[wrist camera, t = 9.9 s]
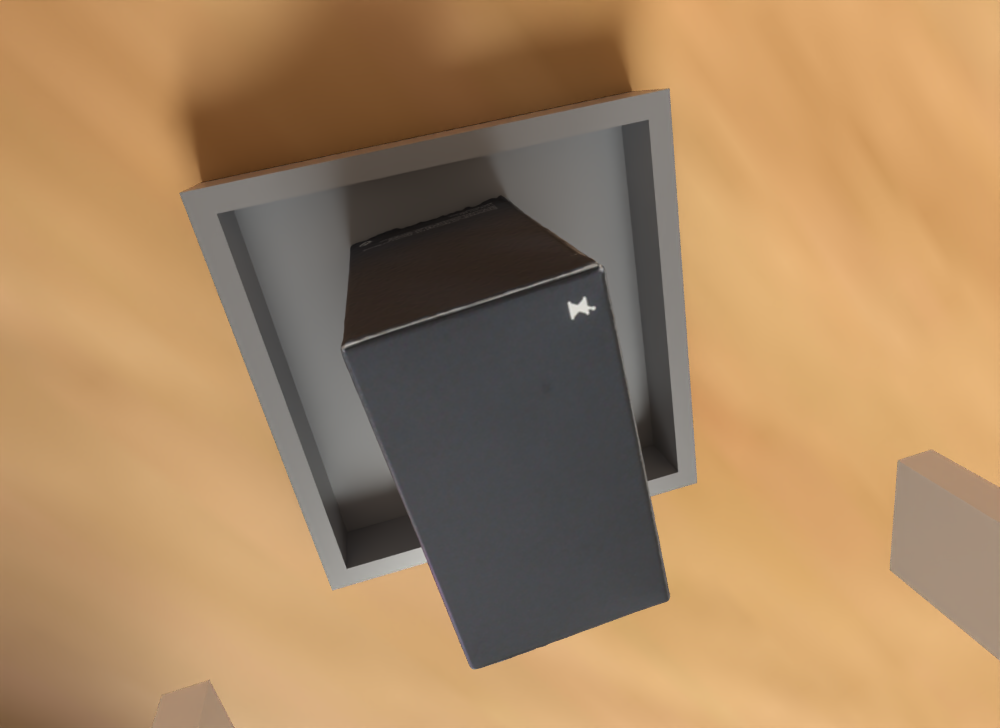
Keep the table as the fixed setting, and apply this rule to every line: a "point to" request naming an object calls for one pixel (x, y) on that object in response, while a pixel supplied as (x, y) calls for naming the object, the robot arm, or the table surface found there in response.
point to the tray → (418, 198)
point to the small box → (505, 425)
